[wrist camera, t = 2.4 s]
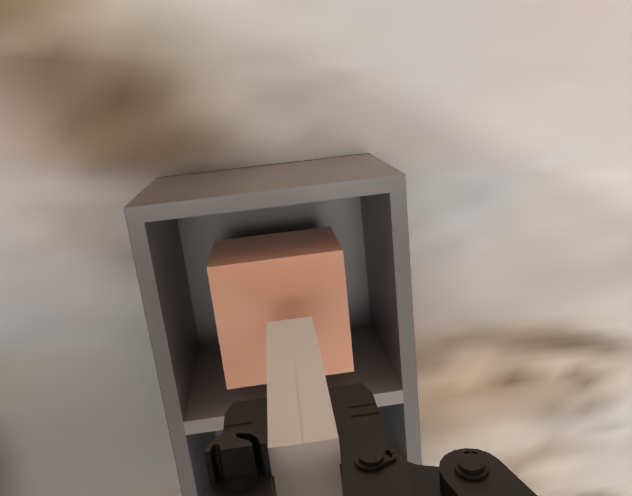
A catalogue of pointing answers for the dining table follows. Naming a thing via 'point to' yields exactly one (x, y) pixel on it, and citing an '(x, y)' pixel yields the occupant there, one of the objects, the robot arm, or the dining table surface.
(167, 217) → the compartment tray
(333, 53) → the dining table surface
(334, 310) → the key
